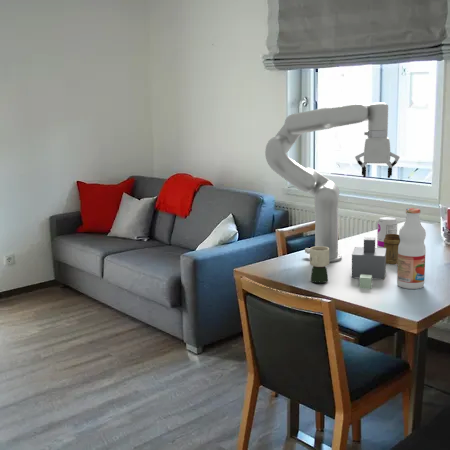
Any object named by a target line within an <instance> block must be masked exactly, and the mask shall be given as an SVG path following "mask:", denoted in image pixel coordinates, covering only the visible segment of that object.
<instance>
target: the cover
mask: <svg viewBox="0 0 450 450" xmlns="http://www.w3.org/2000/svg"><path fill="white" fill-rule="evenodd" d="M386 266H387V264H386V248H377V247H376V237H365V236H364V238H363V246H354V248H353V251H352V254H351V278H354V279H360V275H361V274H362V275H372V280H385V276H386V271H387V269H386V268H387V267H386Z"/></svg>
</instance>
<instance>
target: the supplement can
mask: <svg viewBox="0 0 450 450" xmlns="http://www.w3.org/2000/svg"><path fill="white" fill-rule="evenodd" d="M386 234H398V221H397V218H396V217H393V216H381V217H379V219H378V220H377V235H376V239H377V240H376V241H377V242H376V243H377V244H376V248H383V247H384V238H385V235H386Z"/></svg>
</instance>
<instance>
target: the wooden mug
mask: <svg viewBox="0 0 450 450" xmlns="http://www.w3.org/2000/svg"><path fill="white" fill-rule="evenodd" d="M399 243H400V238H399V233H397V234H386V235H385V238H384V247H383V248H386V265H398V246H399Z"/></svg>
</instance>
